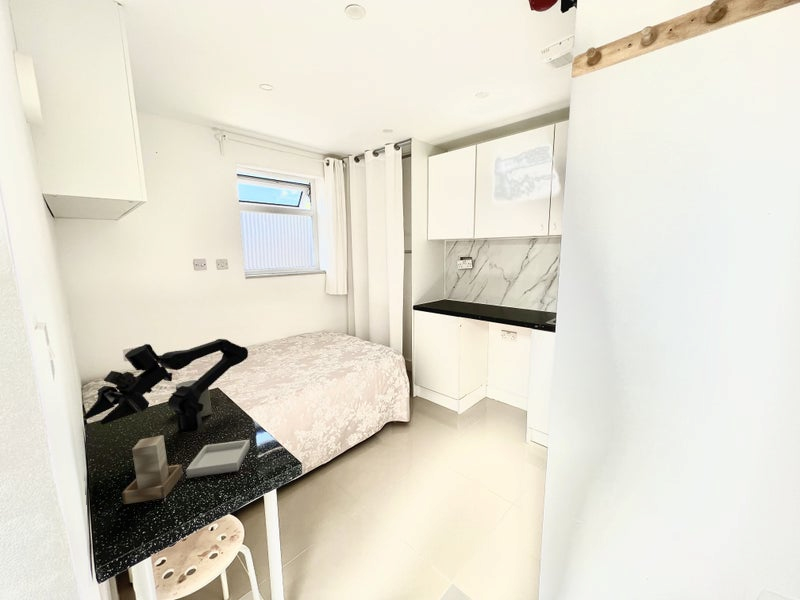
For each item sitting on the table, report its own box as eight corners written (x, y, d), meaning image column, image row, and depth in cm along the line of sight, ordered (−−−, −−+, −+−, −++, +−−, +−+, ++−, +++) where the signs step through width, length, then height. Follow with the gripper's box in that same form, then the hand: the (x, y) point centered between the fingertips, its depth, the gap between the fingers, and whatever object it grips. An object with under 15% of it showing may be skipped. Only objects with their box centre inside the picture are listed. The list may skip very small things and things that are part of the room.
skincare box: (212, 414, 125) (208, 384, 124) (198, 417, 123) (195, 387, 121) (211, 408, 130) (207, 380, 129) (198, 411, 128) (194, 383, 127)
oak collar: (183, 474, 88) (181, 464, 88) (164, 497, 79) (163, 486, 79) (146, 479, 87) (144, 469, 86) (123, 504, 78) (121, 493, 77)
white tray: (250, 446, 101) (249, 439, 100) (237, 470, 89) (236, 462, 89) (205, 452, 98) (204, 445, 98) (187, 478, 87) (186, 469, 86)
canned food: (204, 403, 136) (201, 379, 134) (196, 412, 128) (192, 386, 127) (185, 406, 134) (181, 381, 133) (175, 414, 127) (171, 388, 125)
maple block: (169, 480, 86) (163, 435, 85) (162, 492, 82) (156, 444, 80) (147, 485, 85) (140, 439, 83) (139, 497, 80) (132, 449, 78)
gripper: (114, 359, 102) (56, 396, 90) (147, 364, 94) (89, 406, 82) (135, 384, 107) (83, 422, 95) (168, 391, 99) (117, 433, 87)
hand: (92, 420), depth 90 cm, fingers open, 9 cm apart
